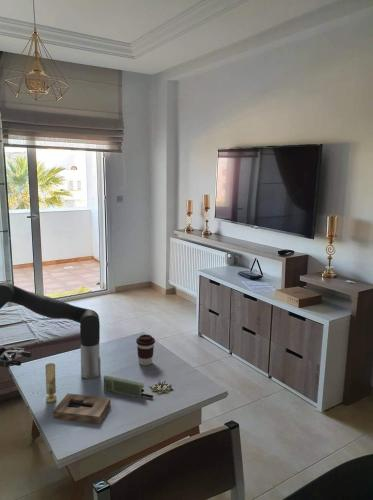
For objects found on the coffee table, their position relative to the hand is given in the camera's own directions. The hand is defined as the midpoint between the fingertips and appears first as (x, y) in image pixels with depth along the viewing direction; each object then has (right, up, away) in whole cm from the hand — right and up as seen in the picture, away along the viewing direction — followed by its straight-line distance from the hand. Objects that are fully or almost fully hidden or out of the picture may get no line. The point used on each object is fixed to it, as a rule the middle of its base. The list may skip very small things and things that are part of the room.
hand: (25, 359), depth 178 cm
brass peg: (+11, -19, +2) cm, 22 cm away
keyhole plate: (+27, -21, -5) cm, 34 cm away
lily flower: (+59, -19, +16) cm, 64 cm away
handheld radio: (+44, -19, +10) cm, 49 cm away
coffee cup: (+49, -13, +41) cm, 65 cm away
